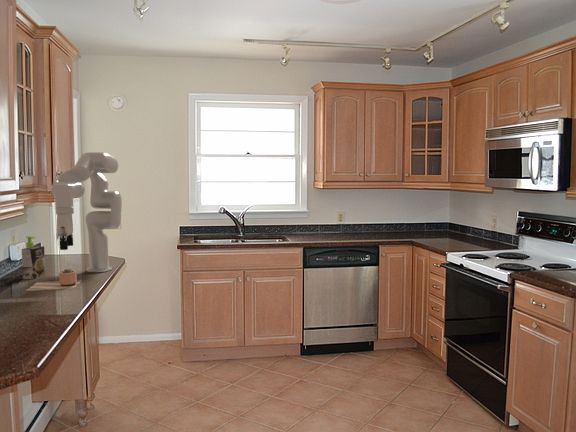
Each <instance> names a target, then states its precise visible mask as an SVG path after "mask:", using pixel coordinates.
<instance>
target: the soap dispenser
mask: <svg viewBox="0 0 576 432" xmlns="http://www.w3.org/2000/svg"><path fill="white" fill-rule="evenodd" d="M26 239H27V242H26V243H25V248H28V247H33V246H35V245H34V242H33V241H32V239H36V236H34V235H28V236H27V235H26Z"/></svg>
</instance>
